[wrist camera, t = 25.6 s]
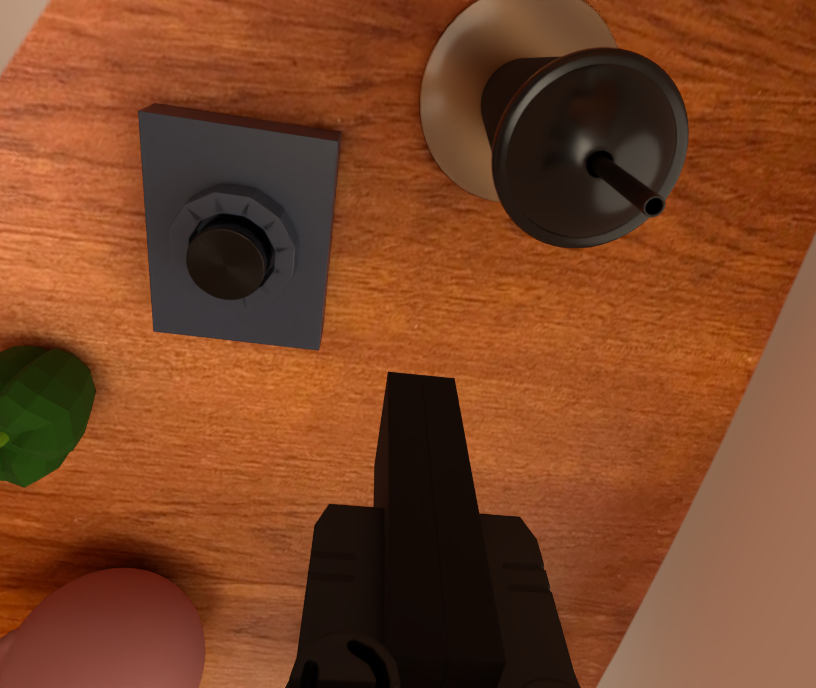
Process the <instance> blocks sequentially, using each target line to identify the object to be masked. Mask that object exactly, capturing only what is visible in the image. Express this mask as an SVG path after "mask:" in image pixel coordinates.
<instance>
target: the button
mask: <svg viewBox="0 0 816 688" xmlns="http://www.w3.org/2000/svg"><path fill="white" fill-rule="evenodd" d="M270 259H271V254H270V248H269V245H268V243H267V240H266V239H265V237H264V235H263V234H262V233H261V232H260V231H259V230H258V229H257V228H256V227H255V226H253V225H252V224H250V223H249V222H247V221H245V220H242V219H239V218H234V217H222V218H217V219H214V220H212V221H210V222H209V223H207V224H206V225H205V226H204V227H203V228H202V229H201V230H200V231H199V233H198V234H197V235H196V236H195V238H194V239H193V240H192V242H191V243H190V245H189V247H188V250H187V254H186V264H187V269H188V271H189V274H190V276H191V278H192V279H193V281H194V282H195V283H196V285H197V286H198V287H199V288H201V289H202V290H203V291H204V292H206V293H207V294H209V295H211V296H213V297H216V298H219V299H224V300H237V299H242V298H245V297H247V296H249V295H251V294H252V293H254V292H255V291H256V290H257V289H258V288H259V287H260V285H261V283H262V281H263V279H264V277H265V274H266V272H267V270H268V267H269V264H270Z"/></svg>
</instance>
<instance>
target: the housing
mask: <svg viewBox="0 0 816 688" xmlns="http://www.w3.org/2000/svg"><path fill="white" fill-rule="evenodd" d="M138 116H139V131H140V145H141V159H142V174H143V188H144V202H145V216H146V231H147V245H148V259H149V274H150V288H151V302H152V317H153V331H154V332H163V333H171V334H180V335H189V336H197V337H206V338H215V339H223V340H232V341H241V342H250V343H258V344H267V345H276V346H284V347H293V348H302V349H310V350H319V348H320V343H321V338H322V333H323V324H324V313H325V302H326V292H327V281H328V271H329V260H330V249H331V239H332V228H333V218H334V207H335V196H336V186H337V175H338V164H339V154H340V143H341V132H337V131H331V130H325V129H318V128H312V127H305V126H299V125H292V124H286V123H279V122H273V121H266V120H260V119H253V118H247V117H240V116H234V115H227V114H221V113H214V112H208V111H201V110H195V109H188V108H182V107H175V106H169V105H162V104H156V103H155V104H152V105H150V106H148V107H146V108H144V109H141V110H139V111H138ZM222 217H234V218H239V219H242V220H245V221H247V222H249V223H250V224H252V225H253V226H255V227H256V228H257V229H258V230H259V231H260V232H261V233H262V234H263V235H264V237H265V239H266V240H267V243H268V245H269V248H270V254H271V259H270V264H269V267H268V270H267V272H266V274H265V277H264V279H263V281H262V283H261V285H260V287H259V288H258V289H257V290H256V291H255V292H254V293H252V294H251V295H249V296H247V297H245V298H242V299H237V300H224V299H219V298H216V297H213V296H211V295H209V294H207V293H206V292H204V291H203V290H202V289H201V288H199V287H198V286H197V285H196V283H195V282H194V281H193V279H192V278H191V276H190V274H189V271H188V269H187V264H186V254H187V250H188V247H189V245H190V243H191V242H192V240H193V239H194V238H195V236H196V235H197V234H198V233H199V231H200V230H201V229H202V228H203V227H204V226H205V225H206V224H207V223H209V222H210V221H212V220H214V219H217V218H222Z"/></svg>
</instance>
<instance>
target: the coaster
mask: <svg viewBox="0 0 816 688" xmlns="http://www.w3.org/2000/svg"><path fill="white" fill-rule="evenodd" d="M596 47H612V48H617V45H616V42H615V39H614V37H613V35H612V34H611V32H610V30H609V28H608V26H607V25H606V23H605V22H604V21H603V19H602V18H601V16H600V15H599V14H598V13H597V12H596V11H595V10H594V9H593V8H592V7H591V6H590V5H588V4H587V3H586V2H584V1H583V0H477V1H475V2H473V3H472V4H470V5H469V6H468V7H466V8H465V9H464V10H463V11H462V12H461V13H459V14H458V15H457V16H456V17H455V18H454V19H453V20H452V22H451V23H450V24H449V25H448V26H447V27H446V29H445V30H444V31H443V33H442V34H441V36H440V37H439V38H438V40H437V42H436V44H435V46H434V47H433V49H432V51H431V53H430V56H429V58H428V61H427V63H426V66H425V70H424V73H423V77H422V81H421V89H420V118H421V125H422V129H423V133H424V137H425V140H426V143H427V145H428V148H429V150H430V152H431V154H432V156H433V158H434V159H435V161H436V163H437V164H438V165H439V167H440V168H441V169H442V171H443V172H444V173H445V174H446V175H447V176H448V177H449V178H450V179H451V180H452V181H453V182H454V183H456V184H457V185H458V186H459V187H461V188H462V189H464V190H466V191H468V192H469V193H471V194H473V195H476V196H478V197H480V198H483V199H487V200H491V201H495V202H500V200H499V198H498V196H497V193H496V190H495V187H494V182H493V177H492V168H491V157H492V152H491V148H490V145H489V141H488V137H487V134H486V130H485V126H484V123H483V119H482V115H481V97H482V93H483V90H484V87H485V85H486V83H487V81H488V79H489V78H490V77H491V75H492V74H493V73H494V72H495V71H496V70H497V69H498V68H499V67H501V66H502V65H504V64H505V63H507V62H509V61H512V60H515V59H519V58H535V57H560V56H564V55H566V54H569V53H572V52H575V51H579V50H583V49H588V48H596Z"/></svg>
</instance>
